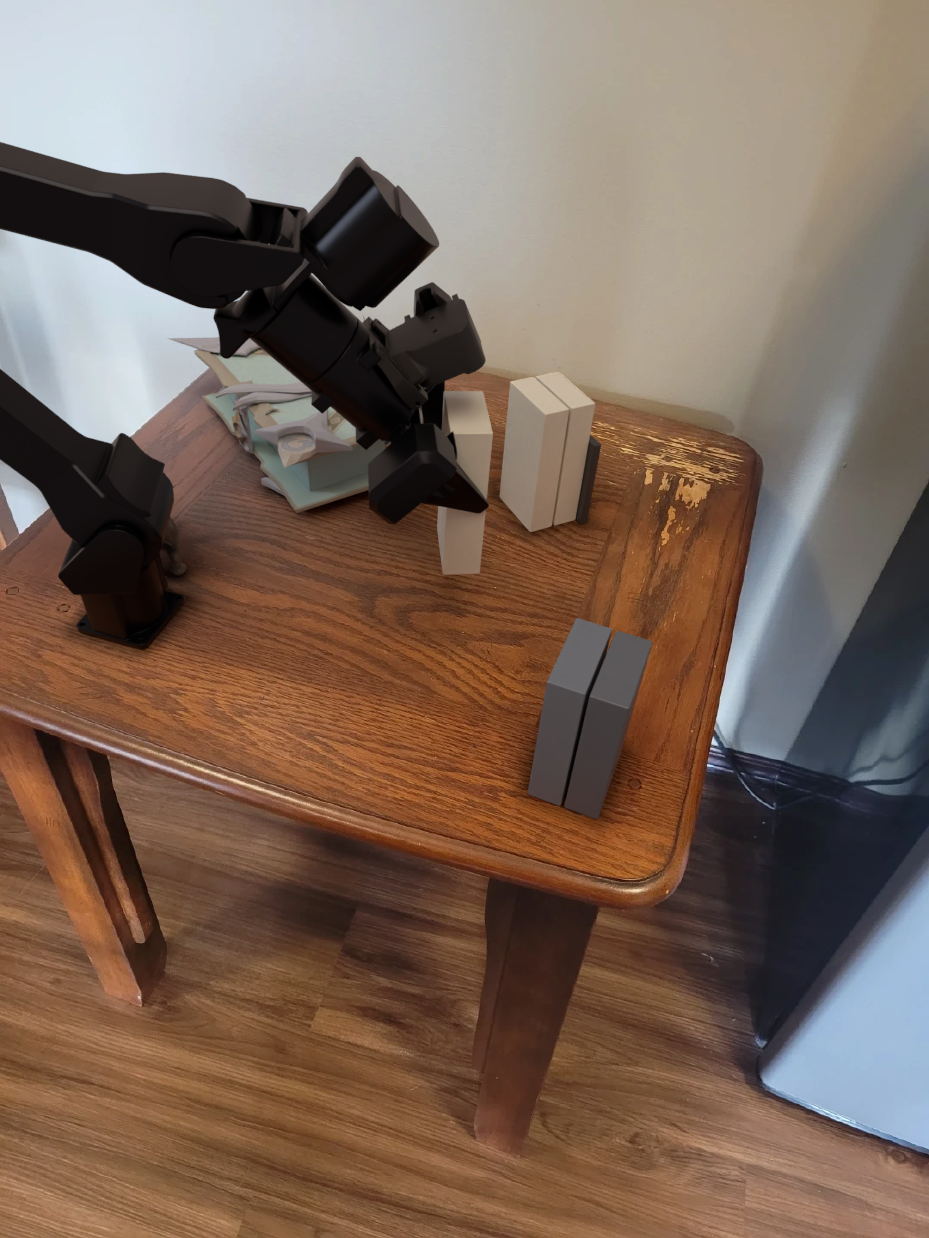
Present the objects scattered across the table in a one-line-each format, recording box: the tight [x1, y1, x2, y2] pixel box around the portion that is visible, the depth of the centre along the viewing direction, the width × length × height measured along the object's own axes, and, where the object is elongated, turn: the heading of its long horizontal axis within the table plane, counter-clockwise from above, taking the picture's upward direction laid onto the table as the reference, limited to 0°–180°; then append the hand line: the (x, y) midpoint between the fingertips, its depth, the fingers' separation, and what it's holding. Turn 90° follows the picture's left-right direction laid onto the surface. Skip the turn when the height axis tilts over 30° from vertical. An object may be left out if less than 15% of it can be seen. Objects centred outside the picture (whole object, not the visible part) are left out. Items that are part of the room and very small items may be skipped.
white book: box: [436, 390, 494, 576], centre depth 66 cm, size 3×6×13 cm, turn 6°
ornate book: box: [166, 315, 454, 514], centre depth 91 cm, size 23×10×30 cm
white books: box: [499, 371, 602, 533], centre depth 81 cm, size 6×8×13 cm
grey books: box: [527, 617, 654, 820], centre depth 58 cm, size 5×6×12 cm
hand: (479, 484), depth 66 cm, fingers closed on white book, 6 cm apart
